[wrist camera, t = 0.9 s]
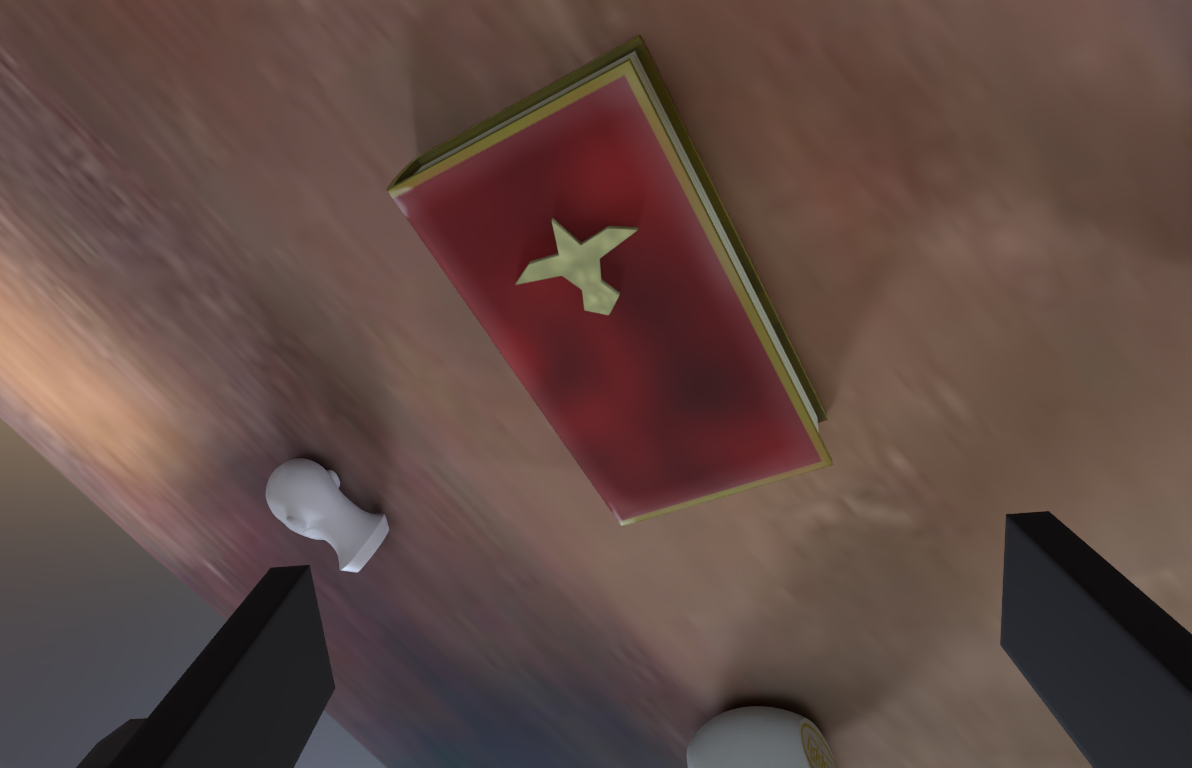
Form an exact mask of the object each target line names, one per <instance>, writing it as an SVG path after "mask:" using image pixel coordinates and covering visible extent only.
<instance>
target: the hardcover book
mask: <svg viewBox="0 0 1192 768" xmlns="http://www.w3.org/2000/svg"><path fill="white" fill-rule="evenodd" d="M387 191H388V192H389V194H390V195H391V197H392V198H393V199H394V201H395V202H396V204H397V205H398V207H399V208H400V209H401V211H402V212H403V214H404V215H405V217H406V218H407V220H408V221H409V222H410V224H411V225H412V227H413V228H414V230H415V231H416V232H417V234H418V235H419V237H420V238H421V240H422V241H423V242H424V244H425V245H426V247H427V248H428V250H429V251H430V252H431V254H432V255H433V257H434V258H435V260H436V261H437V262H438V264H439V265H440V267H441V268H442V270H443V271H444V273H445V274H446V275H447V277H448V278H449V280H450V281H451V283H452V284H453V285H454V287H455V288H456V290H457V291H458V293H459V294H460V295H461V297H462V298H463V300H464V301H465V303H466V304H467V305H468V307H469V308H470V310H471V311H472V313H473V314H474V315H475V317H476V318H477V320H478V321H479V323H480V324H481V326H482V327H483V328H484V330H485V331H486V333H487V334H488V336H489V337H490V338H491V340H492V341H493V343H494V344H495V346H496V347H497V348H498V350H499V351H500V353H501V354H502V356H503V357H504V358H505V360H506V361H507V363H508V364H509V366H510V367H511V368H512V370H513V371H514V373H515V374H516V376H517V377H518V379H519V380H520V381H521V383H522V384H523V386H524V387H525V389H526V390H527V391H528V393H529V394H530V396H531V397H532V399H533V400H534V401H535V403H536V404H537V406H538V407H539V409H540V410H541V411H542V413H543V414H544V416H545V417H546V419H547V420H548V421H549V423H550V424H551V426H552V427H553V429H554V430H555V432H556V433H557V434H558V436H559V437H560V439H561V440H562V442H563V443H564V444H565V446H566V447H567V449H568V450H569V452H570V453H571V454H572V456H573V457H574V459H575V460H576V462H577V463H578V464H579V466H580V467H581V469H582V470H583V472H584V473H585V474H586V476H587V477H588V479H589V480H590V482H591V483H592V485H593V486H594V487H595V489H596V490H597V492H598V493H599V495H600V496H601V497H602V499H603V500H604V502H605V503H606V505H607V506H608V507H609V509H610V510H611V512H612V513H613V515H614V516H615V517H616V519H617V520H618V522H619V523H620V525H621V526H622V527H623V526H626V525H629V524H633V523H636V522H640V521H643V520H646V519H650V518H653V517H657V516H660V515H664V514H667V513H670V512H674V511H677V510H681V509H684V508H687V507H691V506H694V505H698V504H701V503H704V502H708V501H711V500H715V499H718V498H722V497H725V496H728V495H732V494H735V493H739V492H742V491H745V490H749V489H752V488H756V487H759V486H762V485H766V484H769V483H773V482H776V481H780V480H783V479H786V478H790V477H793V476H797V475H800V474H803V473H807V472H810V471H814V470H817V469H820V468H824V467H827V466H831V465H833V463H832V458H831V456H830V454H829V452H828V450H827V448H826V446H825V444H824V442H823V440H822V438H821V436H820V434H819V430H818V423H819V422H822V421H825V420H827V415H826V413H825V411H824V409H823V407H822V405H821V403H820V401H819V399H818V397H817V394H816V392H815V390H814V388H813V386H812V384H811V382H810V380H809V378H808V376H807V374H806V372H805V370H804V368H803V366H802V364H801V362H800V360H799V358H798V356H797V354H796V352H795V350H794V348H793V346H792V344H791V341H790V339H789V337H788V335H787V333H786V331H785V329H784V327H783V325H782V323H781V321H780V319H779V317H778V315H777V313H776V311H775V309H774V307H773V305H772V303H771V301H770V299H769V297H768V295H767V293H766V290H765V288H764V286H763V284H762V282H761V280H760V278H759V276H758V274H757V272H756V270H755V268H754V266H753V264H752V262H751V260H750V258H749V256H748V254H747V252H746V250H745V248H744V246H743V244H742V242H741V240H740V237H739V235H738V233H737V231H736V229H735V227H734V225H733V223H732V221H731V219H730V217H729V215H728V213H727V211H726V209H725V207H724V205H723V203H722V201H721V199H720V197H719V195H718V193H717V191H716V189H715V186H714V184H713V182H712V180H711V178H710V176H709V174H708V172H707V170H706V168H705V166H704V164H703V162H702V160H701V158H700V156H699V154H698V152H697V150H696V148H695V146H694V144H693V142H692V140H691V138H690V135H689V133H688V131H687V129H686V127H685V125H684V123H683V121H682V119H681V117H680V115H679V113H678V111H677V109H676V107H675V105H674V103H673V101H672V99H671V97H670V95H669V93H668V91H667V89H666V87H665V85H664V82H663V80H662V78H661V76H660V74H659V72H658V70H657V68H656V66H655V64H654V62H653V60H652V58H651V56H650V54H649V52H648V50H647V48H646V46H645V44H644V42H643V40H642V38H641V36H640V35H639V36H637V37H635V38H633V39H631V40H630V41H628V42H626V43H624V44H622V45H620V46H619V47H617V48H615V49H613V50H611V51H609V52H608V53H606V54H604V55H602V56H600V57H599V58H597V59H595V60H593V61H591V62H589V63H588V64H586V65H584V66H582V67H580V68H579V69H577V70H575V71H573V72H571V73H569V74H568V75H566V76H564V77H562V78H560V79H559V80H557V81H555V82H553V83H551V84H549V85H548V86H546V87H544V88H542V89H540V90H538V91H537V92H535V93H533V94H531V95H529V96H528V97H526V98H524V99H522V100H520V101H518V102H517V103H515V104H513V105H511V106H509V107H508V108H506V109H504V110H502V111H500V112H498V113H497V114H495V115H493V116H491V117H489V118H487V119H486V120H484V121H482V122H480V123H478V124H477V125H475V126H473V127H471V128H469V129H467V130H466V131H464V132H462V133H460V134H458V135H457V136H455V137H453V138H451V139H449V140H447V141H446V142H444V143H442V144H440V145H438V146H437V147H435V148H433V149H431V150H429V151H427V152H426V153H424V154H422V155H420V156H418V157H417V158H415V159H414V160H413V161H412V162H410V163H409V164H408V165H407V166H406V167H405V168H404V169H403V170H402V171H401V172H400V173H399V174H398V175H397V176H396V177H395V178H394V180H393V181H392V182H391V183H390V185H389V186H388V188H387Z"/></svg>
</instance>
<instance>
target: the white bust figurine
mask: <svg viewBox="0 0 1192 768" xmlns="http://www.w3.org/2000/svg"><path fill="white" fill-rule="evenodd" d="M339 486H340V481H339V478H338V476H337V474H336V473H335V472H334V471H332V470H325V469H324V468H323V467H322V466H321V465H319V464H318V463H316V462H314V461H312V460H308V459H304V458H297V459H292V460H289V461H287V462H285V463H283V464H282V465H280V466H279V467H278V468H277V469H276V470H275V471H274V472H273V473H272V474H271V476H270V478H269V480H268V483H267V487H266V499H267V503H268V505H269V507H270V509H271V511H272V512H273V514H274V515H275V516H276V517H277V518H278V519H279V520H281V521H282V522H283V523H284V524H285V525H286V526H287V527H288V528H289V529H291V530H293V531H294V532H296V533H299V534H301V535H303V536H306V537H309V538H312V539H317V540H322V539H323V540H326V541H327V542H329V543H330V544H331V545H332V546H333V548H334V549H335V550H336V552H337V554H338V557H339V566H340V570H343V571H351V572H358V571H360V570H361V569H362V567H363V566H364V565H365V564H366V563H367V561H368V560H369V559H370V558H371V556H372V555H373V554H374V553H375V551H376V550H377V549H378V547H379V546H380V544H381V543H382V541H383V540H384V538H385V537H386V535H387V533H388V531H389V527H388V523H387V520H386V517H385V514H384V513H380V514H371V513H367V512H365V511H363V510H361V509H360V508H358V507H357V506H356V505H354V504H353V503H352V502H351V501H350V500H349V499H348V498H347V497H346V496H344V495H343V494H342V492H341V491H340V490H339V489H338V488H339Z"/></svg>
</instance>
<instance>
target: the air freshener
mask: <svg viewBox="0 0 1192 768" xmlns="http://www.w3.org/2000/svg"><path fill="white" fill-rule="evenodd" d="M687 764H688V768H838V767H837V764H836V761H835V758H834V756H833V754H832V752H831V749H830V747H829V745H828V743H827V742H826V740H825V738H824V737H823V735H822V734H821V732H820V731H819V729H818V728H817V727H816V726H815V725H814V724H813V723H812V722H811V721H810V720H808V719H807V718H805V717H803V716H801V715H798V714H796V713H793V712H790V711H787V710H784V709H779V708H774V707H765V706H751V707H742V708H737V709H733V710H729V711H727V712H724V713H721V714H719V715H717V716H715V717H713V718H712V719H710V720H709V721H708V722H706V723H705V724H704V725H702V726H701V727H700V728H699V730H698V731H697V732H696V733H695V734H694V736H693V737H692V739H691V741H690V743H689V745H688V748H687Z"/></svg>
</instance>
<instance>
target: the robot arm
mask: <svg viewBox="0 0 1192 768" xmlns="http://www.w3.org/2000/svg"><path fill="white" fill-rule="evenodd" d="M1000 645H1001V646H1002V648H1003V649H1004V650H1005V652H1006V653H1007V654H1008V656H1009V657H1010V658H1011V660H1012V661H1013V662H1014V664H1015V665H1016V666H1017V668H1018V669H1019V670H1020V671H1021V673H1022V674H1023V675H1024V677H1025V678H1026V679H1027V681H1028V682H1029V683H1030V685H1031V686H1032V687H1033V689H1034V690H1035V691H1036V693H1037V694H1038V695H1039V697H1040V698H1041V699H1042V701H1043V702H1044V703H1045V705H1046V706H1047V707H1048V709H1049V710H1050V711H1051V712H1052V714H1053V715H1054V716H1055V718H1056V719H1057V720H1058V722H1059V723H1060V724H1061V726H1062V727H1063V728H1064V730H1065V731H1066V732H1067V734H1068V735H1069V736H1070V738H1071V739H1072V740H1073V742H1074V743H1075V744H1076V746H1077V747H1078V748H1079V750H1080V751H1081V752H1082V753H1083V755H1084V756H1085V757H1086V759H1087V760H1088V761H1089V763H1090V764H1091V765H1092V767H1093V768H1192V634H1191V633H1190V632H1188V631H1187V630H1186V629H1185V628H1184V627H1183V626H1181V625H1180V624H1179V623H1178V622H1177V621H1176V620H1174V619H1173V618H1172V617H1171V616H1170V615H1169V614H1167V613H1166V612H1165V611H1164V610H1163V609H1162V608H1160V607H1159V606H1158V605H1157V604H1156V603H1155V602H1154V601H1152V600H1151V599H1150V598H1149V597H1148V596H1147V595H1145V594H1144V593H1143V592H1142V591H1141V590H1140V589H1138V588H1137V587H1136V586H1135V585H1134V584H1133V583H1131V582H1130V581H1129V580H1128V579H1127V578H1126V577H1125V576H1123V575H1122V574H1121V573H1120V572H1119V571H1118V570H1116V569H1115V568H1114V567H1113V566H1112V565H1111V564H1109V563H1108V562H1107V561H1106V560H1105V559H1104V558H1102V557H1101V556H1100V555H1099V554H1098V553H1097V552H1095V551H1094V550H1093V549H1092V548H1091V547H1090V546H1089V545H1087V544H1086V543H1085V542H1084V541H1083V540H1082V539H1080V538H1079V537H1078V536H1077V535H1076V534H1075V533H1073V532H1072V531H1071V530H1070V529H1069V528H1068V527H1066V526H1065V525H1064V524H1063V523H1062V522H1061V521H1060V520H1058V519H1057V518H1056V517H1055V516H1054V515H1053V514H1051V513H1050V512H1049V511H1045V512H1031V513H1018V514H1006V529H1005V552H1004V574H1003V597H1002V619H1001V641H1000ZM334 689H335V684H334V680H333V675H332V670H331V665H330V661H329V656H328V651H327V646H326V641H325V637H324V632H323V627H322V622H321V617H320V613H319V608H318V603H317V598H316V594H315V589H314V584H313V579H312V574H311V570H310V565H302V566H289V567H275V568H270V569H269V571H268V572H267V573H266V574H265V575H264V577H263V578H262V579H261V580H260V581H259V583H258V584H257V585H256V586H255V588H254V589H253V590H252V591H251V592H250V594H249V595H248V596H247V597H246V599H245V600H244V601H243V602H242V603H241V605H240V606H239V607H238V608H237V610H236V611H235V612H234V613H233V614H232V616H231V617H230V618H229V619H228V621H227V622H226V623H225V624H224V625H223V627H222V628H221V629H220V630H219V632H218V633H217V634H216V635H215V636H214V638H213V639H212V640H211V641H210V643H209V644H208V645H207V646H206V647H205V649H204V650H203V651H202V652H201V654H200V655H199V656H198V657H197V658H196V660H195V661H194V662H193V663H192V664H191V666H190V667H189V668H188V669H187V670H186V672H185V673H184V674H183V675H182V677H181V678H180V679H179V680H178V681H177V683H176V684H175V685H174V686H173V688H172V689H171V690H170V691H169V693H168V694H167V695H166V696H165V697H164V699H163V700H162V701H161V702H160V703H159V705H158V706H157V707H156V708H155V710H154V711H153V712H152V713H151V714H150V716H149V717H148V718H146V719H145V718H144V719H130V720H129V721H127V722H126V723H124V724H123V725H122V726H120V727H119V728H117V729H116V730H115V731H113V732H112V733H111V734H109V735H108V736H106V737H105V738H104V739H102V740H101V741H100V742H99V743H97V744H96V745H95V747H94V748H93V749H92V750H91V751H90V752H89V753H88V755H87V756H86V757H85V758H84V759H83V761H82V762H81V763H80V764H79V765H78V766H77V767H76V768H294V766H295V764H296V762H297V760H298V758H299V756H300V754H301V753H302V750H303V748H304V747H305V745H306V743H307V741H308V739H309V737H310V735H311V733H312V731H313V730H314V728H315V726H316V724H317V722H318V720H319V718H320V716H321V714H322V712H323V710H324V708H325V707H326V705H327V703H328V701H329V699H330V697H331V695H332V693H333V691H334Z"/></svg>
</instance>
